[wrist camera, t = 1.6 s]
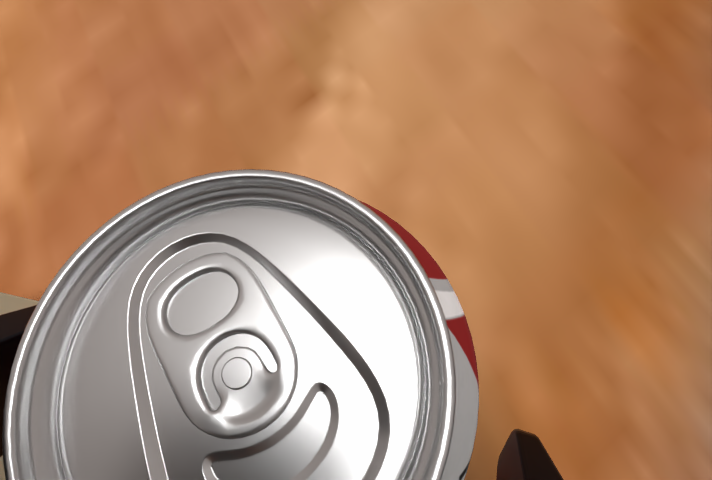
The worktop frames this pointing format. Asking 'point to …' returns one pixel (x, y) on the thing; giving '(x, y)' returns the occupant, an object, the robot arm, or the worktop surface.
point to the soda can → (244, 345)
